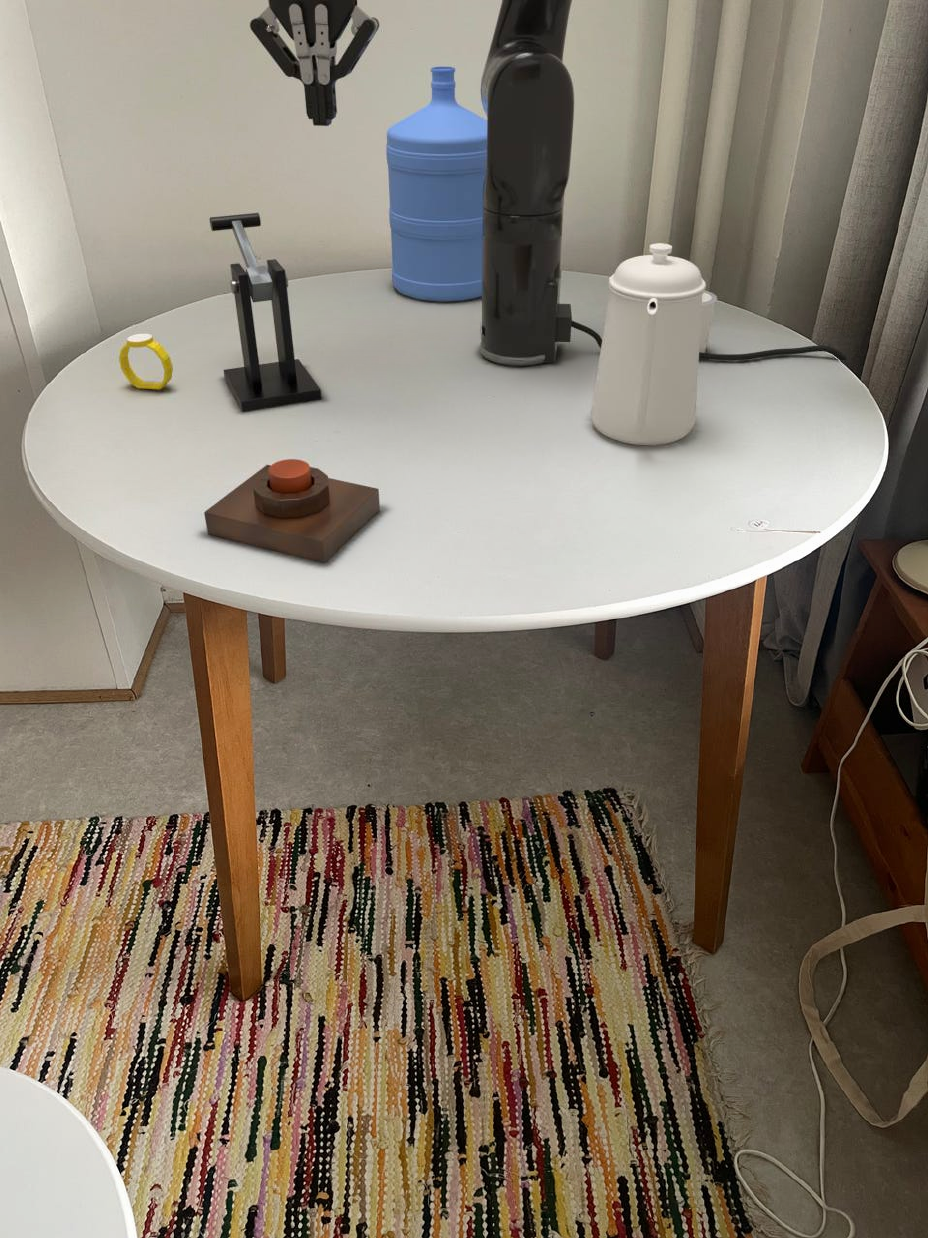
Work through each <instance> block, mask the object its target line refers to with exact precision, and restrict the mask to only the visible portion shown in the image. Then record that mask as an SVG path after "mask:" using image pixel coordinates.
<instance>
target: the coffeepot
mask: <svg viewBox="0 0 928 1238" xmlns="http://www.w3.org/2000/svg"><path fill="white" fill-rule="evenodd" d="M672 250H673V246H672V245H671V244H668V243H662V242H660V243H659V242H657V243H652V244H650V245H649V253H651V254H646V255H638V256H634V257H631V258H628V259H626V260H624V261H622V262H620V264H619V265H618V266H617V268H616V269H615V271H614V273H613V274H612V275H610V277H609V279H608V289H609V295H608V301H607V307H606V314H605V321H604V327H603V333H602V345H601V349H600V353H599V359H598V366H597V372H596V377H595V386H594V390H593V398H592V403H591V411H590V419H591V423H592V424H593V426H594V427H595V428H596V430H597V431H599V432H600V433H601V434H602V435H603V436H605V437H607V438H610V439H612V440H614V441H617V442H621V443H625V444H630V445H637V446H659V445H665V444H670V443H673V442H676V441H678V440H680V439H683V438H684V437H686V436H687V435H688V434H689V433H690V432H691V431H692V430H693V428H694V426H695V423H696V412H697V411H696V410H697V397H698V396H697V393H698V377H699V363H700V362H699V360H700V358H699V345H700V328H701V312H702V295H703V294H704V292H705V291H706V288H707V284H706V281H705V280H704V279H703V278H702V274H701V271H700V269H699V267H698V266H697V265H695V264H694V263H693V262H691V261H690V260H687V259H684V258H682V257H677V256H671V255H670V254H671V253H672Z"/></svg>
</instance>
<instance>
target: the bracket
mask: <svg viewBox="0 0 928 1238" xmlns="http://www.w3.org/2000/svg"><path fill="white" fill-rule="evenodd" d="M266 264H267V265H266V267H267V270H268V272H269V275H270V277H271V280H272V283H273V300H270V301H271V308H272V310H271V311H272V317H273V325H274V326H273V327H274V335H275V344H276V351H277V360H278V361H274V362H268V363H261V364H260V361H259V360H260V359H259V353H258V352H259V351H258V344H257V337H256V329H255V321H254V315H253V314H254V313H253V306H252V298H251V296H250V289H249V281H248V274H247V273H246V269H244V267H243V266H242V265H241V264H240V263H239V262H238V263H230V271H231V272H230V274H231V280H230V282H229V283H230V289H231V293H232V295H233V296H234V302H235V309H236V317H237V324H238V332H239V338H240V345H241V347H240V348H241V354H242V361H243V366H240V367H232V368H225V369H223V377H224V380H225V382H226V384H227V386H228V388H229V390H230V392H231V393H232V395H233V397H234V399H235V401H236V402H237V404H238V406H239V409H240V410H241V412H249V411H256V410H262V409H268V408H274V407H281V406H288V405H293V404H294V405H295V404H299V403H306V402H313V401H318V400H322V389H321V387H320V386H319V385H318V383H317V382H316V381H315V380H314V378H313V377H312V375H311V374H310V373H309V371H308V369H307V368H306V367H305V366H304V364H303V363H302V362H301V361H300V359H299V358H296V359H295V350H294V340H293V331H292V322H291V321H292V320H291V313H290V304H289V303H290V302H289V294H288V293H289V292H288V288H289V279H288V276H287V274H286V269H284V267H283V266H282V265H281V263H280V262H278V260H277V259H275V258H273V259H267V260H266Z"/></svg>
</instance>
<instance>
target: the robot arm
mask: <svg viewBox="0 0 928 1238" xmlns="http://www.w3.org/2000/svg"><path fill="white" fill-rule="evenodd" d="M572 3H573V0H501V4H500V8H499V11H498V15H497V20H496V23H495V27H494V32H493V35H492V39H491V43H490V47H489V50H488V53H487V57H486V61H485V64H484V67H483V72H482V75H481V80H480V92H479V93H480V101H481V105H482V109H483V111H484V113H485V115H486V120H487V165H486V174H485V179H484V182H483V215H482V296H481V326H480V329H479V331H480V333H479V334H480V340H481V342H480V354H481V355H482V357H483V358H485V359H486V360H488V361H491V362H494V363H496V364H501V365H507V366H517V367H518V366H521V367H522V366H534V365H539V364H544V363H551V364H552V363H555V360H556V356H557V353H558V343H571V339H572V328H574V329H576V330H578V331H581V332H583V333H586V334H587V335H589V336H591V337H592V338H593V339H594V340H595V342H596V343H597V345H598V347H599V349H600V350H601V345H602V339H603V337H601V335H600V334H599V333H598V332H597V331H595V330H593V329H592V328H591V327H588V326H587V325H584V324H582V323H579V322H577V321H574V320H573V315H572V305H571V303H561V302H560V301H561V284H562V283H561V282H562V270H561V262H562V261H561V259H562V242H563V241H562V240H563V221H564V205H565V193H566V189H567V185H568V183H569V180H570V179H569V178H570V172H571V171H570V170H571V160H572V159H571V158H572V145H573V134H574V133H573V132H574V119H575V90H574V83H573V79H572V76H571V74H570V71H569V70H568V68H567V66H566V65H565V64H564V63H563V60H564V51H565V43H566V35H567V30H568V23H569V17H570V12H571V7H572ZM351 20H352V24H351V27H350V31H351V33H352V35H353V38H352V39H351V41H350V42H349V44H348V46H347V48H346V49H345V51H344V53H343V54H342V56H341V57H340V59H339V61H338V62H336V61H337V59H336V58H337V53H338V50H337V49H338V41H339V40H340V39H341V37H342V35H343V33H344V32H345V30H346V28H347V26H348V25H349V23H350V22H351ZM278 22H279V23H278ZM279 24H280V25H281V26H282V28H283V29H284V30H285V32H286V34H287V35H288V36H289V38H291V40H292V42H293V43H294V49H295V54H294V52H293V51H292V50H291V48H290V47H289V46H288V45H287V43H286V41H284V39H283V37H282V36H281V35H280V34H279V32H280V25H279ZM249 28H250V30H251V32H252V33H253V34H254V35H255V37H256V38H257V39H258V41H259V43H260V44H261V45H262V46H263V47H264V49H265V50H266V51H267V53H268V54H269V55H270V56H271V58H272V59H273V61H274V62H275V63H276V64H277V66H278V67H279V69H280V70H281V71H282V73H283V74H284V75H285V76H286V77H287V78H294V79H296V80H299V81H300V82H301V83H302V85H303V88H304V101H305V113H306V116H307V118H308V120H312V124H313V126H318V127H329V126H330V125H332V122H333V120H334V119H335V118H336V117H337V113H338V108H337V94H336V92H337V91H336V84H337V81H338V80H340V79H343V78H346V76H348V75H350V74H351V73H352V72H353V71H354V69H355V67H356V65H357V64H358V63H359V61H360V59H361V58H362V56H363V54H365V53H364V52H365V51H366V50H367V48H368V47H369V45H370V43H371V41H372V40H373V38H374V37H375V35H376V34H377V32H378V31H379V29H380V22H379V20H378V19H377V18H376V17H374V16H373V17H372V16H371V17H370V16H369V15H368V14H367V13H366V12H365V11H364V10H363V9H362V8H360V7H359V6H358V0H268V6H267V7H266V8H265V10H264V11H262V13H261V14H260V15H259V16H258V17H254V18H253V19H251V21H250V23H249ZM814 352H815V353H816V352H824V353H829V354H832V355H833V356H835V357H836V358H838V359H839V360H841V361H848V358H847V356H846V355H845V354H844V353H843V352H842V351H841V350H840V349H838V348H836V347H833V346H830V345H823V344H821V345H819V344H817V345H809V346H802V347H792V348H791V347H790V348H789V347H788V348H775V349H768V350H767V349H766V350H760V351H756V352H747V353H733V354H731V353H729V354H728V353H727V354H725V353H712V352H711V353H709V352H705V353H701V352H699V360H711V361H746V360H754V359H760V358H767V357H773V356H782V355H783V356H784V355H786V356H787V355H799V354H807V353H814Z"/></svg>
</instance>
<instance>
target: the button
mask: <svg viewBox="0 0 928 1238" xmlns="http://www.w3.org/2000/svg"><path fill="white" fill-rule="evenodd" d="M270 465H271V466H270V467H269V479H270V486H271V490H272V491H273V492H277V493H281V494H293V493H299V492H302V491H305V490H308V489H309V488H310V487H311V486H312V481H311V472H310V467H311V466H310V464H309V463H308V462H306V461H305V460H302V459H296V458H289V459H282V460H278V461H276V462H274V463H272V464H270Z"/></svg>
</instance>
